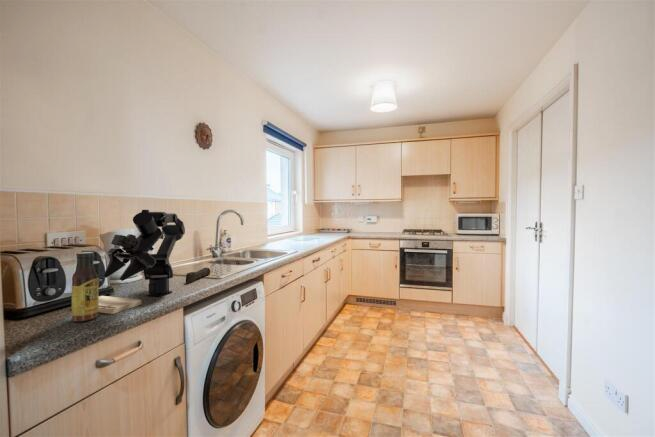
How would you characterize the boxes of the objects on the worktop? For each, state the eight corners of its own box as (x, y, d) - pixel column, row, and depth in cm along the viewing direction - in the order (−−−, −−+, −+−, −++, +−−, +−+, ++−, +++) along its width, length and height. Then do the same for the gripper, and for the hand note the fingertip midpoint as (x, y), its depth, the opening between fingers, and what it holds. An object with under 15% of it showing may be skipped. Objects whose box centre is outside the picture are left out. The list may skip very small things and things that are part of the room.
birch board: (102, 299, 107) (102, 295, 107) (141, 304, 102) (141, 299, 102) (70, 309, 97) (69, 304, 97) (111, 314, 92) (111, 309, 92)
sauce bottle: (88, 322, 85) (87, 254, 85) (65, 323, 85) (64, 254, 84) (104, 314, 92) (102, 251, 91) (83, 315, 91) (81, 251, 91)
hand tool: (203, 275, 149) (202, 265, 149) (210, 275, 148) (210, 266, 148) (180, 284, 130) (179, 274, 130) (188, 284, 129) (188, 274, 129)
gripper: (112, 225, 103) (75, 261, 94) (146, 226, 95) (108, 266, 85) (136, 244, 110) (104, 280, 101) (169, 247, 102) (137, 286, 93)
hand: (112, 278), depth 95 cm, fingers open, 9 cm apart
